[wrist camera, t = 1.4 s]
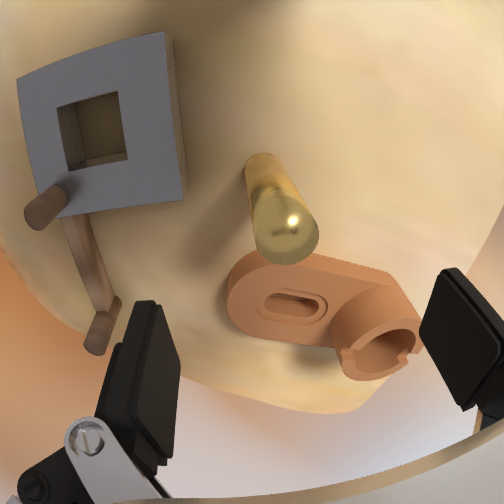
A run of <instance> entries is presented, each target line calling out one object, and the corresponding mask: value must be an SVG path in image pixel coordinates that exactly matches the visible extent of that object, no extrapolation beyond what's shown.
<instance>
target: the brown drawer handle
mask: <svg viewBox="0 0 504 504" xmlns="http://www.w3.org/2000/svg"><path fill="white" fill-rule="evenodd" d="M66 205H67V196H66V194H65V192H64V190H63V189H62V188H60V187H59V186H50V187H49V188H48V189H46V190H45V191H44V192H42V193H41V194H40V195H39V196H37V197H36V198H35V199H34V200H32V201H31V202H30V203H29V204H27V206H26V207H25V210H24V217H25V220H26V222H27V224H28V225H29V226H30V227H31V228H32V229H34V230H37V231H41V230H43V229H44V228H45V227H46V226H47V225H48V224H49V223H50V222H51V221H52V220H53V219H54V218H55V217H56V216H57V215H58V214H59V213H60V212H61V211H62V210H63V209H64V208H65V207H66ZM60 220H61V223H62V226H63V229H64V232H65V235H66V238H67V241H68V244H69V247H70V249H71V252H72V255H73V257H74V260H75V263H76V265H77V268H78V270H79V273H80V275H81V278H82V280H83V283H84V285H85V287H86V290H87V292H88V294H89V297H90V299H91V301H92V303H93V306H94V308H95V310H96V315H95V317H94V319H93V322H92V324H91V326H90V329H89V331H88V334H87V336H86V339H85V341H84V347H85V349H86V350H87V351H88V352H89V353H91V354H93V355H96V356H102V355H104V354H105V351H106V348H107V345H108V342H109V339H110V336H111V333H112V331H113V328H114V325H115V322H116V319H117V316H118V314H119V311H120V308H121V305H122V303H121V300H120V299H119V298H118V297H117V296H115V294H114V292H113V289H112V287H111V284H110V281H109V279H108V276H107V273H106V270H105V268H104V265H103V262H102V259H101V256H100V253H99V250H98V247H97V244H96V241H95V238H94V235H93V231H92V228H91V225H90V221H89V218H88V215H87V213H84V214H78V215H72V216H66V217H60Z"/></svg>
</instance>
